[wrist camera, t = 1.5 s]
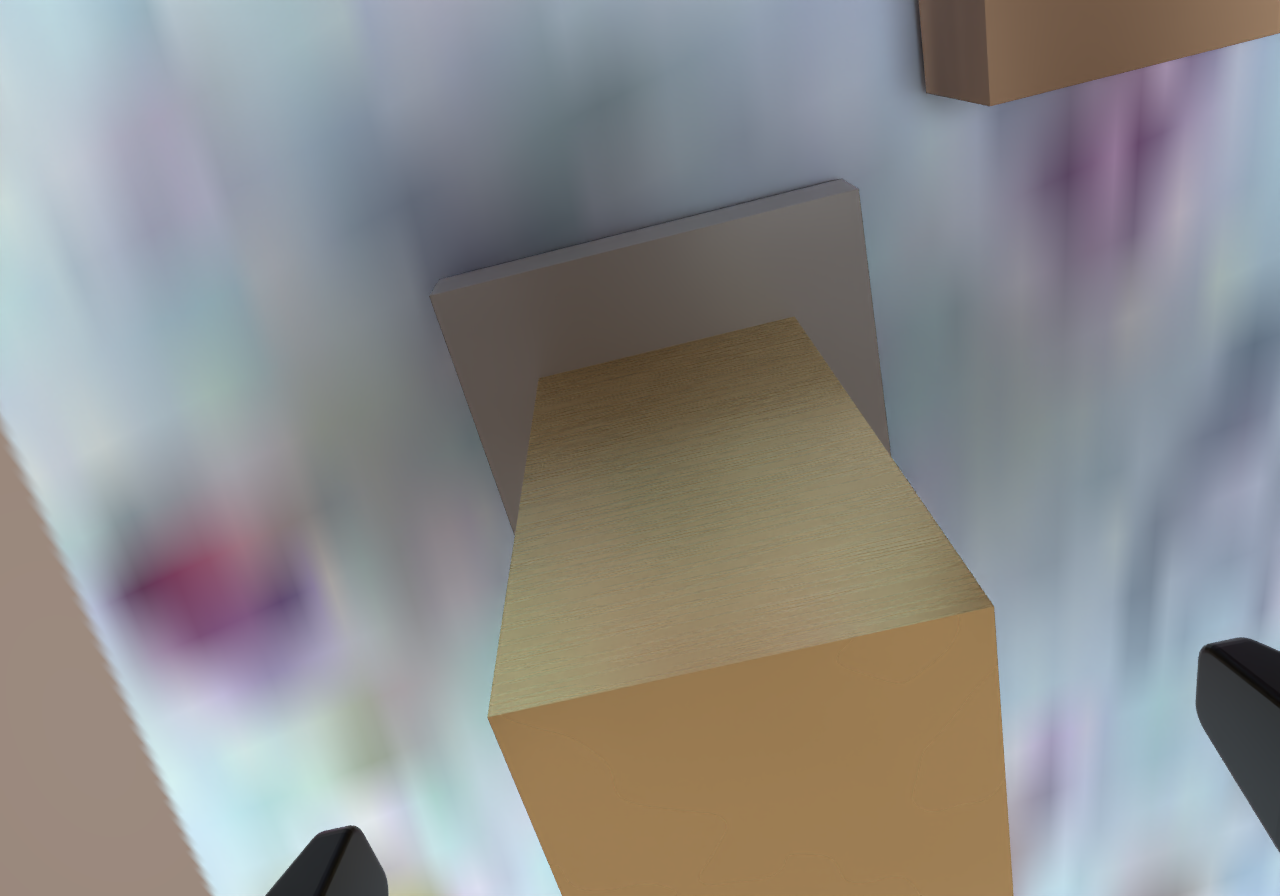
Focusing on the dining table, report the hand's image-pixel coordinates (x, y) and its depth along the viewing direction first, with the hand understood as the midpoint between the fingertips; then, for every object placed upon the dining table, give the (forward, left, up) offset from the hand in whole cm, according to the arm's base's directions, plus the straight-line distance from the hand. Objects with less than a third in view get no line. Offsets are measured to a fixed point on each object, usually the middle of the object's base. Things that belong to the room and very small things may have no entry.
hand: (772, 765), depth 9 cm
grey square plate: (0, 0, -8) cm, 8 cm away
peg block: (0, 0, -7) cm, 7 cm away
